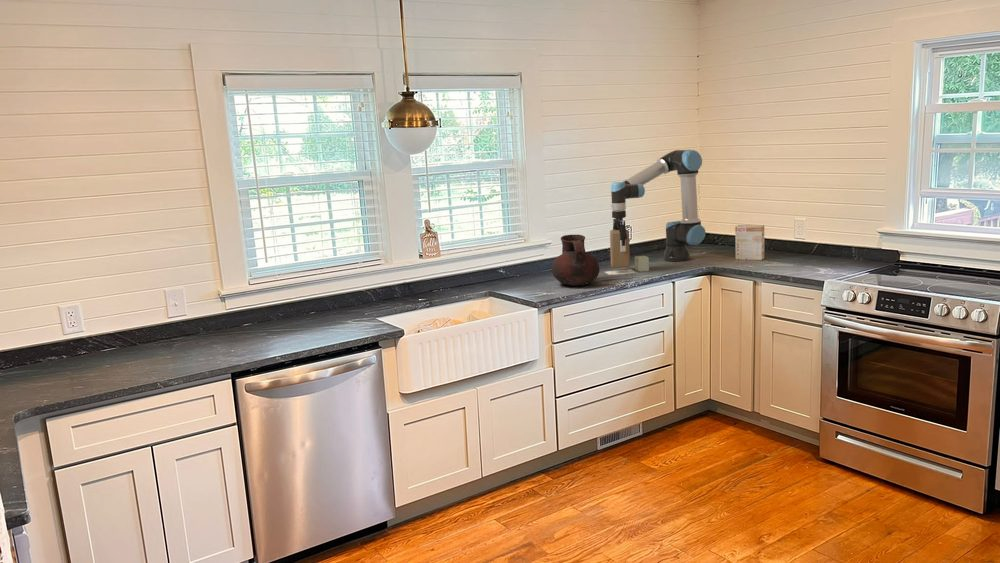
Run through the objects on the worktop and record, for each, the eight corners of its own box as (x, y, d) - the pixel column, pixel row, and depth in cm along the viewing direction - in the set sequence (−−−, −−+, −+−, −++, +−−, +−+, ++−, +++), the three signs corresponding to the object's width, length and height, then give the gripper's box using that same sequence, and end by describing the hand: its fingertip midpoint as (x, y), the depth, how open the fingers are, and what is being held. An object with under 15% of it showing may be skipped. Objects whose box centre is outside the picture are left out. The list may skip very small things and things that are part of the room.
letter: (631, 269, 418) (631, 269, 418) (637, 273, 407) (637, 272, 407) (604, 272, 416) (603, 271, 416) (609, 275, 405) (609, 275, 405)
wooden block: (628, 264, 415) (627, 229, 412) (630, 267, 406) (629, 231, 402) (610, 265, 416) (609, 229, 413) (611, 268, 407) (610, 232, 403)
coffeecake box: (764, 258, 429) (764, 224, 425) (761, 260, 423) (762, 226, 419) (738, 257, 436) (738, 224, 433) (735, 259, 430) (735, 226, 427)
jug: (552, 290, 375) (550, 241, 371) (551, 281, 400) (549, 235, 395) (602, 287, 374) (600, 238, 369) (598, 278, 399) (596, 232, 394)
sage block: (645, 269, 417) (644, 255, 415) (649, 271, 411) (648, 257, 409) (635, 270, 416) (634, 256, 414) (638, 272, 410) (638, 258, 408)
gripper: (605, 209, 416) (607, 247, 420) (618, 212, 393) (619, 253, 397) (618, 208, 417) (619, 246, 421) (632, 211, 394) (633, 252, 398)
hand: (619, 250), depth 409 cm, fingers closed on wooden block, 11 cm apart
